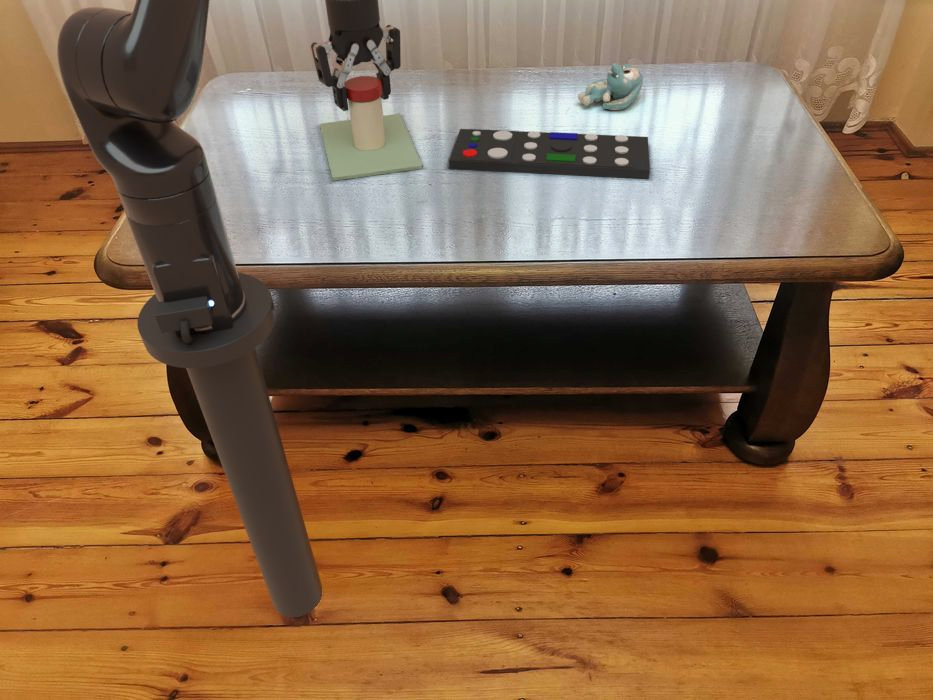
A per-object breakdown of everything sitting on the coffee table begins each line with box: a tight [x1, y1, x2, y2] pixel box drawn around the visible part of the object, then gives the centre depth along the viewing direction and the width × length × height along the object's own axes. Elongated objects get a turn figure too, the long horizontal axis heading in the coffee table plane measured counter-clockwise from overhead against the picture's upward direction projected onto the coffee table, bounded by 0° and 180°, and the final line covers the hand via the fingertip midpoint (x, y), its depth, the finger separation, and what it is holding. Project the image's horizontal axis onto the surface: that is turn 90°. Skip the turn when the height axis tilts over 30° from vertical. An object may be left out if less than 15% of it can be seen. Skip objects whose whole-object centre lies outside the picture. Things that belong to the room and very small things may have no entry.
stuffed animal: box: [577, 62, 644, 111], centre depth 131 cm, size 11×7×12 cm
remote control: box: [448, 128, 651, 180], centre depth 117 cm, size 11×30×2 cm, turn 81°
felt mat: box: [319, 113, 424, 182], centre depth 122 cm, size 20×14×1 cm
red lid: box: [344, 75, 383, 102], centre depth 116 cm, size 6×6×2 cm
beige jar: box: [347, 97, 386, 151], centre depth 119 cm, size 5×5×10 cm
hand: (364, 103), depth 118 cm, fingers open, 6 cm apart
